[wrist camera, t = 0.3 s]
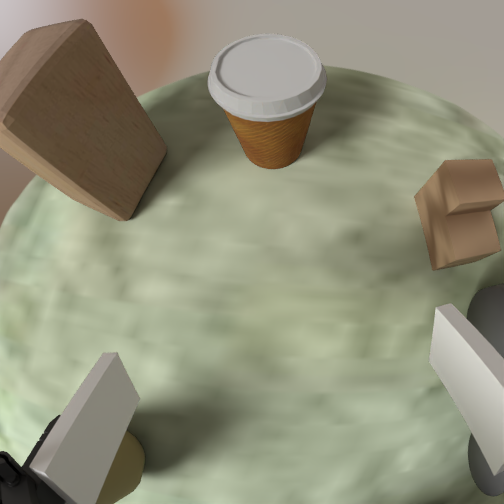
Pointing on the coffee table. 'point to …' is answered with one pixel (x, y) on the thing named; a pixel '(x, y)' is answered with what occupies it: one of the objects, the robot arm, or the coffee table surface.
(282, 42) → the disposable coffee cup
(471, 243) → the block
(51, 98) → the block
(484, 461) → the trolley
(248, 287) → the coffee table surface
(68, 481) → the robot arm
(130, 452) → the squeeze bottle
